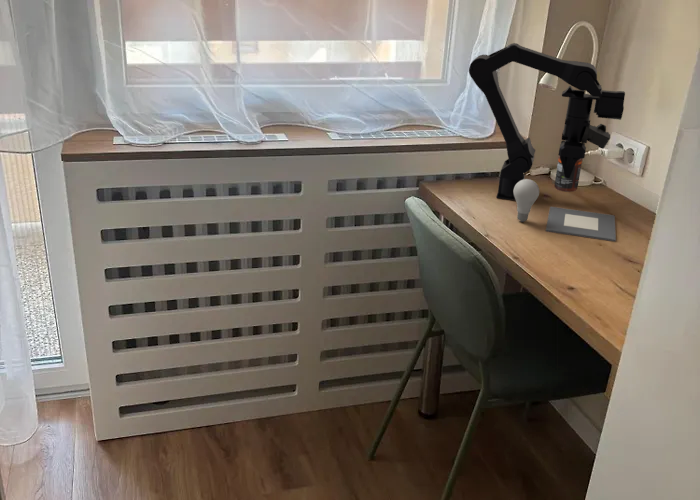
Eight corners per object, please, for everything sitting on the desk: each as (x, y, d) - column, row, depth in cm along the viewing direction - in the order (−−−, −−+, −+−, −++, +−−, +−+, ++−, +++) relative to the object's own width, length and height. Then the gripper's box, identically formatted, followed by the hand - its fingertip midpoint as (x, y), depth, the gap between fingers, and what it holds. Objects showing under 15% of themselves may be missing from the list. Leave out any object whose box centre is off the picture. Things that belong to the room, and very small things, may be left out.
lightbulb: (536, 219, 173) (543, 178, 168) (531, 228, 168) (538, 185, 163) (512, 215, 175) (518, 174, 170) (506, 223, 170) (512, 181, 165)
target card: (545, 231, 166) (545, 228, 166) (549, 208, 180) (550, 206, 180) (615, 241, 162) (615, 239, 162) (614, 217, 176) (614, 215, 176)
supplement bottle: (574, 185, 184) (582, 144, 179) (579, 193, 179) (586, 151, 174) (552, 184, 185) (558, 143, 180) (555, 191, 179) (562, 150, 175)
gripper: (612, 128, 163) (600, 189, 170) (611, 110, 179) (600, 167, 186) (563, 122, 166) (553, 183, 173) (567, 105, 182) (557, 162, 189)
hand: (567, 174), depth 180 cm, fingers closed on supplement bottle, 6 cm apart
